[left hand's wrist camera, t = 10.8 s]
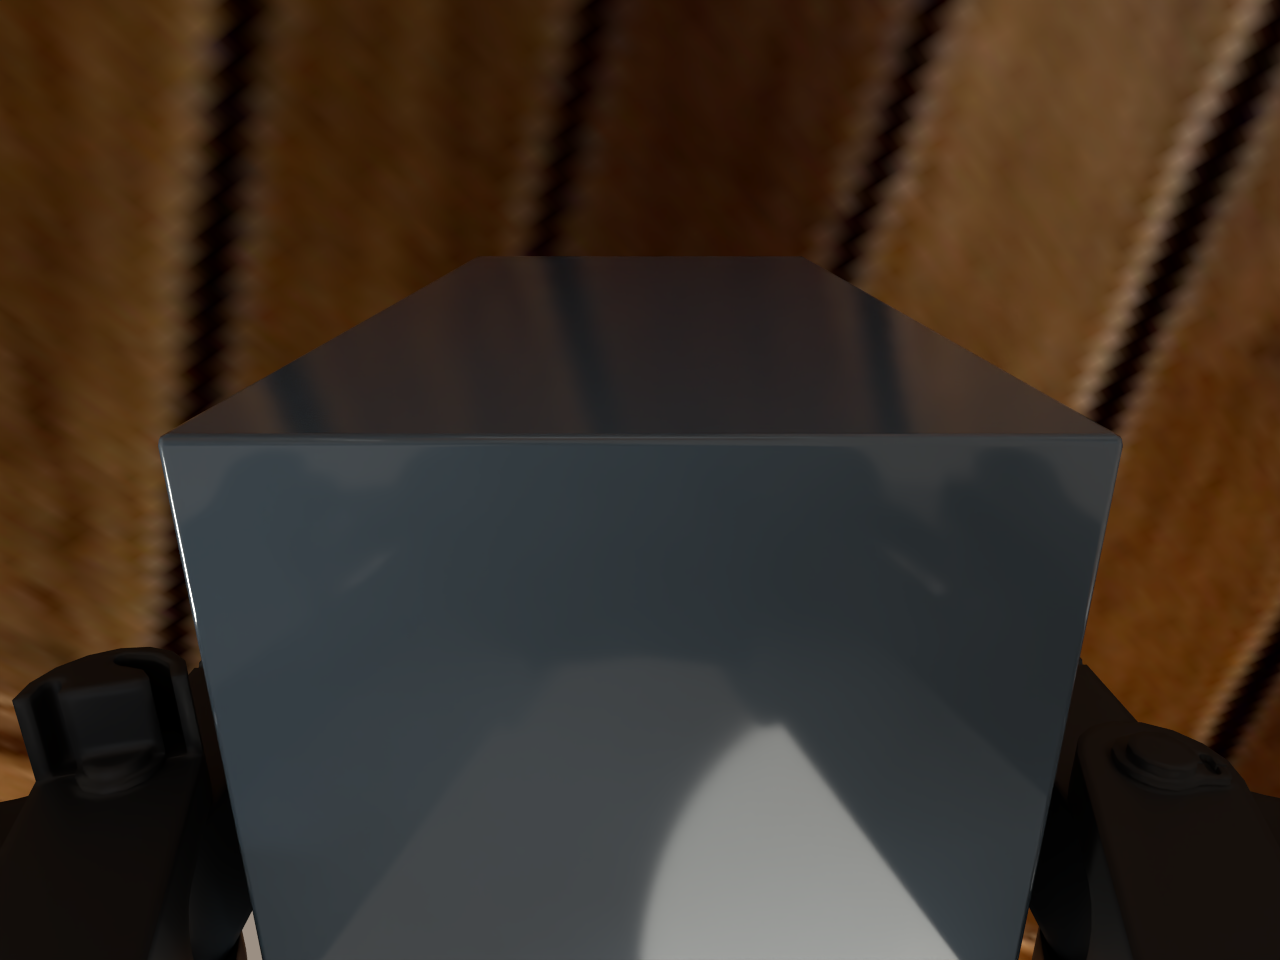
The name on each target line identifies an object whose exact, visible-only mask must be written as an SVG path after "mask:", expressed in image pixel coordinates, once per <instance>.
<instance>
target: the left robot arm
mask: <svg viewBox="0 0 1280 960" xmlns="http://www.w3.org/2000/svg"><path fill="white" fill-rule="evenodd" d="M12 702H13V705H14V709H15V712H16V715H17V719H18V722H19V726H20V729H21V732H22V736H23V739H24V742H25V746H26V749H27V753H28V756H29V759H30V763H31V766H32V769H33V773H34V776H35V780H36V782H35V784H34V786H33V788H32V790H31V792H30V794H29V796H26V797H22V798H19V799H14V800H9V801H4V802H0V960H247V953H246V947H245V942H244V937H243V933H242V929H243V927H244V925H245V923H246V921H247V920H248V918H249V916H250V914H251V912H252V906H251V901H250V896H249V891H248V886H247V881H246V876H245V871H244V866H243V861H242V856H241V851H240V846H239V841H238V837H237V832H236V827H235V822H234V817H233V812H232V807H231V802H230V797H229V792H228V787H227V782H226V777H225V772H224V768H223V763H222V758H221V753H220V748H219V743H218V738H217V733H216V728H215V723H214V718H213V713H212V708H211V703H210V699H209V694H208V689H207V684H206V679H205V674H204V669H203V664H202V660H201V661H200V662H199V668H194V669H193V670H192V671H191V673H190V674H189V675H188V671H187V667H186V662H185V660H184V659H182V658H181V657H180V656H178V655H177V654H176V653H174V652H173V651H169V650H164V649H158V648H153V647H138V648H120V649H115V650H111V651H106V652H102V653H97V654H92V655H88V656H85V657H83V658H80V659H77V660H75V661H72V662H69V663H67V664H64V665H61V666H59V667H56V668H55V669H53V670H51V671H49V672H48V673H46V674H44V675H43V676H41V677H39V678H37V679H36V680H34V681H32V682H31V683H29V684H28V685H27V686H26V687H25V688H24V689H23V690H22V691H21V692H20V693H19V694H18V695H17V696H16V697H15V698H14V699H13V700H12ZM1029 908H1030V910H1031V912H1032V914H1033V916H1034V918H1035V919H1036V921H1037V923H1038V925H1039V928H1038V933H1037V937H1036V942H1035V947H1034V952H1033V956H1032V960H1280V798H1276V797H1271V796H1266V795H1262V794H1258V793H1255V792H1251V791H1250V790H1249V788H1248V786H1247V785H1246V783H1245V781H1244V779H1243V778H1242V777H1241V776H1240V775H1239V773H1238V772H1237V771H1236V770H1235V769H1234V767H1233V766H1232V765H1231V764H1230V763H1229V761H1227V760H1226V759H1224V758H1223V757H1222V756H1220V755H1219V754H1217V753H1216V752H1214V751H1213V750H1211V749H1210V748H1209V747H1207V746H1206V745H1204V744H1203V743H1200V742H1198V741H1196V740H1194V739H1191V738H1189V737H1187V736H1184V735H1182V734H1180V733H1178V732H1175V731H1173V730H1169V729H1166V728H1162V727H1158V726H1154V725H1150V724H1146V723H1142V722H1137V721H1136V719H1135V718H1134V717H1133V716H1132V715H1131V714H1130V713H1129V712H1128V711H1127V709H1126V708H1125V707H1124V706H1123V705H1122V704H1121V703H1120V702H1119V700H1118V699H1117V698H1116V697H1115V696H1114V695H1113V694H1112V693H1111V691H1110V690H1109V689H1108V688H1107V687H1106V686H1105V685H1104V684H1103V683H1102V681H1101V680H1100V679H1099V678H1098V677H1097V676H1096V675H1095V674H1094V672H1093V671H1092V670H1091V669H1090V668H1089V667H1088V666H1087V665H1083V664H1082V659H1081V658H1079V663H1078V668H1077V673H1076V678H1075V683H1074V688H1073V693H1072V698H1071V703H1070V707H1069V712H1068V717H1067V722H1066V727H1065V732H1064V737H1063V742H1062V747H1061V752H1060V757H1059V762H1058V767H1057V771H1056V776H1055V781H1054V786H1053V791H1052V796H1051V801H1050V806H1049V811H1048V816H1047V821H1046V826H1045V830H1044V835H1043V840H1042V845H1041V850H1040V855H1039V860H1038V865H1037V870H1036V875H1035V880H1034V885H1033V889H1032V894H1031V899H1030V904H1029Z"/></svg>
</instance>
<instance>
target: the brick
mask: <svg viewBox="0 0 1280 960" xmlns="http://www.w3.org/2000/svg"><path fill="white" fill-rule="evenodd" d="M158 447H159V452H160V457H161V462H162V467H163V472H164V477H165V482H166V487H167V491H168V496H169V501H170V506H171V511H172V516H173V521H174V526H175V531H176V536H177V541H178V546H179V551H180V556H181V560H182V565H183V570H184V575H185V580H186V585H187V590H188V595H189V600H190V605H191V610H192V615H193V620H194V625H195V630H196V634H197V639H198V644H199V649H200V654H201V659H202V664H203V669H204V674H205V679H206V684H207V689H208V694H209V699H210V703H211V708H212V713H213V718H214V723H215V728H216V733H217V738H218V743H219V748H220V753H221V758H222V763H223V768H224V772H225V777H226V782H227V787H228V792H229V797H230V802H231V807H232V812H233V817H234V822H235V827H236V832H237V837H238V841H239V846H240V851H241V856H242V861H243V866H244V871H245V876H246V881H247V886H248V891H249V896H250V901H251V906H252V911H253V915H254V920H255V925H256V930H257V935H258V940H259V945H260V950H261V955H262V960H1018V958H1019V953H1020V949H1021V944H1022V939H1023V934H1024V929H1025V924H1026V919H1027V914H1028V909H1029V904H1030V899H1031V894H1032V889H1033V885H1034V880H1035V875H1036V870H1037V865H1038V860H1039V855H1040V850H1041V845H1042V840H1043V835H1044V830H1045V826H1046V821H1047V816H1048V811H1049V806H1050V801H1051V796H1052V791H1053V786H1054V781H1055V776H1056V771H1057V767H1058V762H1059V757H1060V752H1061V747H1062V742H1063V737H1064V732H1065V727H1066V722H1067V717H1068V712H1069V707H1070V703H1071V698H1072V693H1073V688H1074V683H1075V678H1076V673H1077V668H1078V663H1079V658H1080V653H1081V648H1082V644H1083V639H1084V634H1085V629H1086V624H1087V619H1088V614H1089V609H1090V604H1091V599H1092V594H1093V589H1094V584H1095V580H1096V575H1097V570H1098V565H1099V560H1100V555H1101V550H1102V545H1103V540H1104V535H1105V530H1106V525H1107V521H1108V516H1109V511H1110V506H1111V501H1112V496H1113V491H1114V486H1115V481H1116V476H1117V471H1118V466H1119V461H1120V457H1121V452H1122V447H1123V444H1122V439H1121V437H1120V436H1119V435H1117V434H1115V433H1113V432H1112V431H1110V430H1108V429H1106V428H1105V427H1103V426H1101V425H1099V424H1098V423H1096V422H1094V421H1092V420H1090V419H1089V418H1087V417H1085V416H1083V415H1082V414H1080V413H1078V412H1076V411H1075V410H1073V409H1071V408H1069V407H1067V406H1066V405H1064V404H1062V403H1060V402H1059V401H1057V400H1055V399H1053V398H1052V397H1050V396H1048V395H1046V394H1044V393H1043V392H1041V391H1039V390H1037V389H1036V388H1034V387H1032V386H1030V385H1029V384H1027V383H1025V382H1023V381H1021V380H1020V379H1018V378H1016V377H1014V376H1013V375H1011V374H1009V373H1007V372H1006V371H1004V370H1002V369H1000V368H998V367H997V366H995V365H993V364H991V363H990V362H988V361H986V360H984V359H983V358H981V357H979V356H977V355H975V354H974V353H972V352H970V351H968V350H967V349H965V348H963V347H961V346H960V345H958V344H956V343H954V342H952V341H951V340H949V339H947V338H945V337H944V336H942V335H940V334H938V333H937V332H935V331H933V330H931V329H930V328H928V327H926V326H924V325H922V324H921V323H919V322H917V321H915V320H914V319H912V318H910V317H908V316H907V315H905V314H903V313H901V312H899V311H898V310H896V309H894V308H892V307H891V306H889V305H887V304H885V303H884V302H882V301H880V300H878V299H876V298H875V297H873V296H871V295H869V294H868V293H866V292H864V291H862V290H861V289H859V288H857V287H855V286H853V285H852V284H850V283H848V282H846V281H845V280H843V279H841V278H839V277H838V276H836V275H834V274H832V273H830V272H829V271H827V270H825V269H823V268H822V267H820V266H818V265H816V264H815V263H813V262H811V261H809V260H807V259H806V258H804V257H802V256H479V257H476V258H475V259H473V260H471V261H469V262H468V263H466V264H464V265H462V266H460V267H459V268H457V269H455V270H453V271H452V272H450V273H448V274H446V275H445V276H443V277H441V278H439V279H438V280H436V281H434V282H432V283H430V284H429V285H427V286H425V287H423V288H422V289H420V290H418V291H416V292H415V293H413V294H411V295H409V296H408V297H406V298H404V299H402V300H400V301H399V302H397V303H395V304H393V305H392V306H390V307H388V308H386V309H385V310H383V311H381V312H379V313H378V314H376V315H374V316H372V317H370V318H369V319H367V320H365V321H363V322H362V323H360V324H358V325H356V326H355V327H353V328H351V329H349V330H348V331H346V332H344V333H342V334H340V335H339V336H337V337H335V338H333V339H332V340H330V341H328V342H326V343H325V344H323V345H321V346H319V347H317V348H316V349H314V350H312V351H310V352H309V353H307V354H305V355H303V356H302V357H300V358H298V359H296V360H295V361H293V362H291V363H289V364H287V365H286V366H284V367H282V368H280V369H279V370H277V371H275V372H273V373H272V374H270V375H268V376H266V377H265V378H263V379H261V380H259V381H257V382H256V383H254V384H252V385H250V386H249V387H247V388H245V389H243V390H242V391H240V392H238V393H236V394H235V395H233V396H231V397H229V398H227V399H226V400H224V401H222V402H220V403H219V404H217V405H215V406H213V407H212V408H210V409H208V410H206V411H205V412H203V413H201V414H199V415H197V416H196V417H194V418H192V419H190V420H189V421H187V422H185V423H183V424H182V425H180V426H178V427H176V428H175V429H173V430H171V431H169V432H167V433H166V434H164V435H162V436H161V437H160V439H159V444H158Z"/></svg>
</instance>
